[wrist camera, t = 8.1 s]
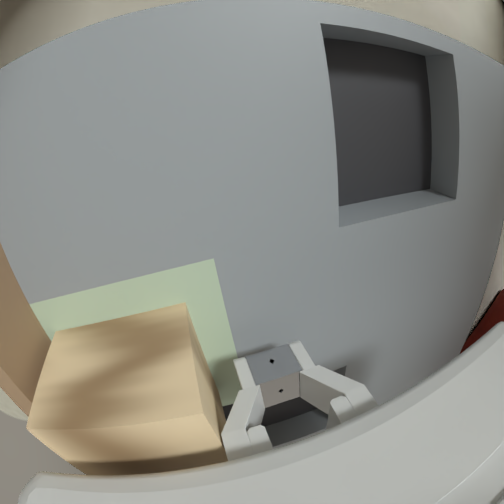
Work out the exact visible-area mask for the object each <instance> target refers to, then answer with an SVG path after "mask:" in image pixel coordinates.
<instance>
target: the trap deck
mask: <svg viewBox="0 0 504 504" xmlns="http://www.w3.org/2000/svg"><path fill="white" fill-rule="evenodd" d="M503 221H504V65H502V64H501V63H499V62H497V61H496V60H494V59H492V58H490V57H488V56H487V55H485V54H483V53H481V52H479V51H477V50H475V49H473V48H471V47H469V46H467V45H465V44H463V43H461V42H459V41H457V40H455V39H452V38H450V37H448V36H446V35H443V34H441V33H438V32H436V31H433V30H431V29H428V28H425V27H423V26H420V25H417V24H414V23H411V22H408V21H405V20H402V19H399V18H396V17H392V16H389V15H385V14H381V13H377V12H373V11H369V10H365V9H360V8H356V7H351V6H345V5H340V4H334V3H327V2H320V1H312V0H198V1H190V2H183V3H176V4H170V5H165V6H159V7H154V8H150V9H145V10H141V11H137V12H132V13H129V14H125V15H121V16H118V17H114V18H111V19H108V20H105V21H101V22H98V23H95V24H93V25H90V26H87V27H84V28H82V29H79V30H76V31H74V32H71V33H69V34H66V35H64V36H62V37H59V38H57V39H55V40H53V41H51V42H48V43H46V44H44V45H42V46H40V47H38V48H36V49H34V50H32V51H30V52H28V53H26V54H25V55H23V56H21V57H19V58H17V59H16V60H14V61H12V62H10V63H9V64H7V65H5V66H4V67H2V68H1V69H0V387H1V388H2V389H3V390H4V392H5V393H6V394H7V395H8V396H9V397H10V398H11V399H12V400H13V401H14V403H15V404H16V405H17V406H18V407H19V408H20V409H21V410H22V411H23V412H24V413H25V414H26V415H27V416H28V417H29V414H30V410H31V406H32V402H33V398H34V395H35V391H36V388H37V384H38V381H39V377H40V374H41V371H42V368H43V365H44V362H45V359H46V356H47V353H48V350H49V348H50V345H51V342H52V339H53V337H54V334H55V332H56V331H60V330H64V329H69V328H74V327H79V326H84V325H88V324H93V323H98V322H102V321H107V320H111V319H116V318H120V317H125V316H129V315H134V314H138V313H142V312H147V311H151V310H155V309H159V308H163V307H168V306H172V305H176V304H180V303H184V302H185V303H186V306H187V308H188V311H189V314H190V317H191V320H192V323H193V326H194V329H195V332H196V334H197V337H198V340H199V343H200V345H201V348H202V351H203V353H204V356H205V359H206V361H207V364H208V366H209V369H210V372H211V374H212V377H213V379H214V382H215V384H216V387H217V389H218V391H219V395H220V399H221V403H222V407H223V411H224V415H225V418H226V421H227V419H228V416H229V414H230V411H231V409H232V406H233V404H234V402H235V399H236V397H237V394H238V391H239V390H242V389H241V386H240V383H239V379H238V376H237V373H236V369H235V366H234V362H233V360H234V359H237V358H241V357H245V356H248V355H252V354H256V353H260V352H263V351H266V350H269V349H272V348H275V347H278V346H281V345H284V344H288V343H291V342H294V341H297V340H299V341H301V343H302V345H303V346H304V348H305V350H306V351H307V353H308V354H309V356H310V358H311V359H312V361H313V363H314V364H315V366H316V365H320V366H322V367H325V368H327V369H329V370H331V371H334V372H336V373H338V374H340V375H343V376H345V377H347V378H350V379H352V380H354V381H357V382H359V383H362V384H364V385H365V386H366V388H367V389H368V391H369V392H370V394H371V395H372V396H373V398H374V399H375V401H376V402H377V403H378V405H381V404H382V403H384V402H386V401H388V400H390V399H392V398H393V397H395V396H397V395H399V394H400V393H402V392H404V391H406V390H407V389H409V388H411V387H412V386H414V385H415V384H417V383H419V382H420V381H422V380H423V379H425V378H427V377H428V376H430V375H431V374H433V373H434V372H436V371H437V370H438V369H440V368H441V367H443V366H444V365H446V364H447V363H448V362H450V361H451V360H453V359H454V358H455V357H457V356H458V355H459V354H460V352H461V349H462V347H463V345H464V343H465V341H466V339H467V336H468V334H469V332H470V329H471V327H472V325H473V322H474V320H475V317H476V315H477V312H478V310H479V307H480V304H481V301H482V299H483V296H484V293H485V290H486V287H487V284H488V281H489V278H490V274H491V271H492V267H493V264H494V260H495V257H496V253H497V249H498V245H499V240H500V236H501V231H502V226H503ZM327 420H328V414H326V413H325V412H323V411H321V410H320V409H318V408H317V407H315V406H313V405H312V404H310V403H308V402H307V401H305V400H304V399H302V398H301V397H297V398H294V399H291V400H288V401H284V402H281V403H279V404H276V405H273V406H270V407H267V408H265V412H264V415H263V419H262V423H261V426H264V427H265V429H266V432H267V434H268V437H269V439H270V442H271V444H272V447H273V449H275V448H278V447H281V446H284V445H287V444H290V443H293V442H296V441H299V440H302V439H304V438H307V437H310V436H312V435H315V434H317V433H320V432H322V431H325V430H326V426H327Z"/></svg>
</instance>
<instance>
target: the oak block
mask: <svg viewBox="0 0 504 504" xmlns="http://www.w3.org/2000/svg"><path fill="white" fill-rule="evenodd" d="M225 424H226V418H225V415H224V411H223V407H222V403H221V399H220V395H219V391H218V389H217V387H216V384H215V382H214V379H213V377H212V374H211V372H210V369H209V366H208V364H207V361H206V359H205V356H204V353H203V351H202V348H201V345H200V343H199V340H198V337H197V334H196V332H195V329H194V326H193V323H192V320H191V317H190V314H189V311H188V308H187V306H186V303H185V302H184V303H180V304H176V305H172V306H168V307H163V308H159V309H155V310H151V311H147V312H142V313H138V314H134V315H129V316H125V317H120V318H116V319H111V320H107V321H102V322H98V323H93V324H88V325H84V326H79V327H74V328H69V329H64V330H60V331H56V332H55V334H54V337H53V339H52V342H51V345H50V348H49V350H48V353H47V356H46V359H45V362H44V365H43V368H42V371H41V374H40V377H39V381H38V384H37V388H36V391H35V395H34V398H33V402H32V406H31V410H30V414H29V418H28V423H27V428H26V429H27V430H29V432H31V433H32V434H33V435H34V436H35V437H36V438H38V439H39V440H40V441H41V442H42V443H44V444H45V445H46V446H47V447H49V448H50V449H51V450H52V451H54V452H55V453H56V454H58V455H59V456H60V457H62V458H63V459H64V460H66V461H67V462H69V463H70V464H71V465H73V466H74V467H76V468H77V469H79V470H80V471H82V472H83V473H85V474H86V475H135V474H149V473H160V472H169V471H177V470H184V469H190V468H196V467H202V466H207V465H212V464H217V463H222V462H227V461H228V459H227V455H226V451H225V447H224V444H223V440H222V436H221V433H222V431H223V429H224V426H225Z"/></svg>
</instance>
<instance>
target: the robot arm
mask: <svg viewBox="0 0 504 504" xmlns="http://www.w3.org/2000/svg"><path fill="white" fill-rule="evenodd" d="M503 1H504V0H503ZM233 362H234V366H235V369H236V373H237V376H238V379H239V383H240V386H241V389H242V390H239V391H238V394H237V397H236V399H235V402H234V404H233V406H232V409H231V411H230V414H229V416H228V419H227V421H226V424H225V426H224V429H223V431H222V433H221V436H222V440H223V444H224V447H225V451H226V455H227V459H228V461H227V462H222V463H217V464H212V465H207V466H202V467H196V468H190V469H184V470H177V471H169V472H160V473H149V474H135V475H75V474H62V473H53V472H44V471H42V472H38V473H37V474H35V475H34V476H33V477H32V478H31V480H30V481H29V482H28V483H27V484H26V486H25V487H24V488H23V489H22V491H21V493H20V496H19V500H18V504H504V322H499V323H497V324H496V325H495V326H494V327H492V328H491V329H490V330H489V331H488V332H487V333H486V334H484V335H483V336H482V337H481V338H480V339H478V340H477V341H476V342H475V343H474V344H472V345H471V346H470V347H468V348H467V349H466V350H465V351H463V352H462V353H461V354H459V355H458V356H457V357H455V358H454V359H453V360H451V361H450V362H448V363H447V364H446V365H444V366H443V367H441V368H440V369H438V370H437V371H436V372H434V373H433V374H431V375H430V376H428V377H427V378H425V379H423V380H422V381H420V382H419V383H417V384H415V385H414V386H412V387H411V388H409V389H407V390H406V391H404V392H402V393H400V394H399V395H397V396H395V397H393V398H392V399H390V400H388V401H386V402H384V403H382V404H381V405H378V403H377V402H376V401H375V399H374V398H373V396H372V395H371V394H370V392H369V391H368V389H367V388H366V386H365V385H364V384H362V383H359V382H357V381H354V380H352V379H350V378H347V377H345V376H343V375H340V374H338V373H336V372H334V371H331V370H329V369H327V368H325V367H322V366H320V365H316V366H315V364H314V363H313V361H312V359H311V358H310V356H309V354H308V353H307V351H306V350H305V348H304V346H303V345H302V343H301V341H299V340H297V341H294V342H291V343H288V344H284V345H281V346H278V347H275V348H272V349H269V350H266V351H263V352H260V353H256V354H252V355H248V356H245V357H241V358H237V359H234V360H233ZM297 397H301V398H302V399H304V400H305V401H307V402H308V403H310V404H312V405H313V406H315V407H317V408H318V409H320V410H321V411H323V412H325V413H326V414H328V420H327V426H326V430H325V431H322V432H320V433H317V434H315V435H312V436H310V437H307V438H304V439H302V440H299V441H296V442H293V443H290V444H287V445H284V446H281V447H278V448H275V449H273V447H272V444H271V442H270V439H269V437H268V434H267V432H266V429H265V427H264V426H261V423H262V419H263V415H264V412H265V408H267V407H270V406H273V405H276V404H279V403H281V402H284V401H288V400H291V399H294V398H297Z"/></svg>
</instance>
